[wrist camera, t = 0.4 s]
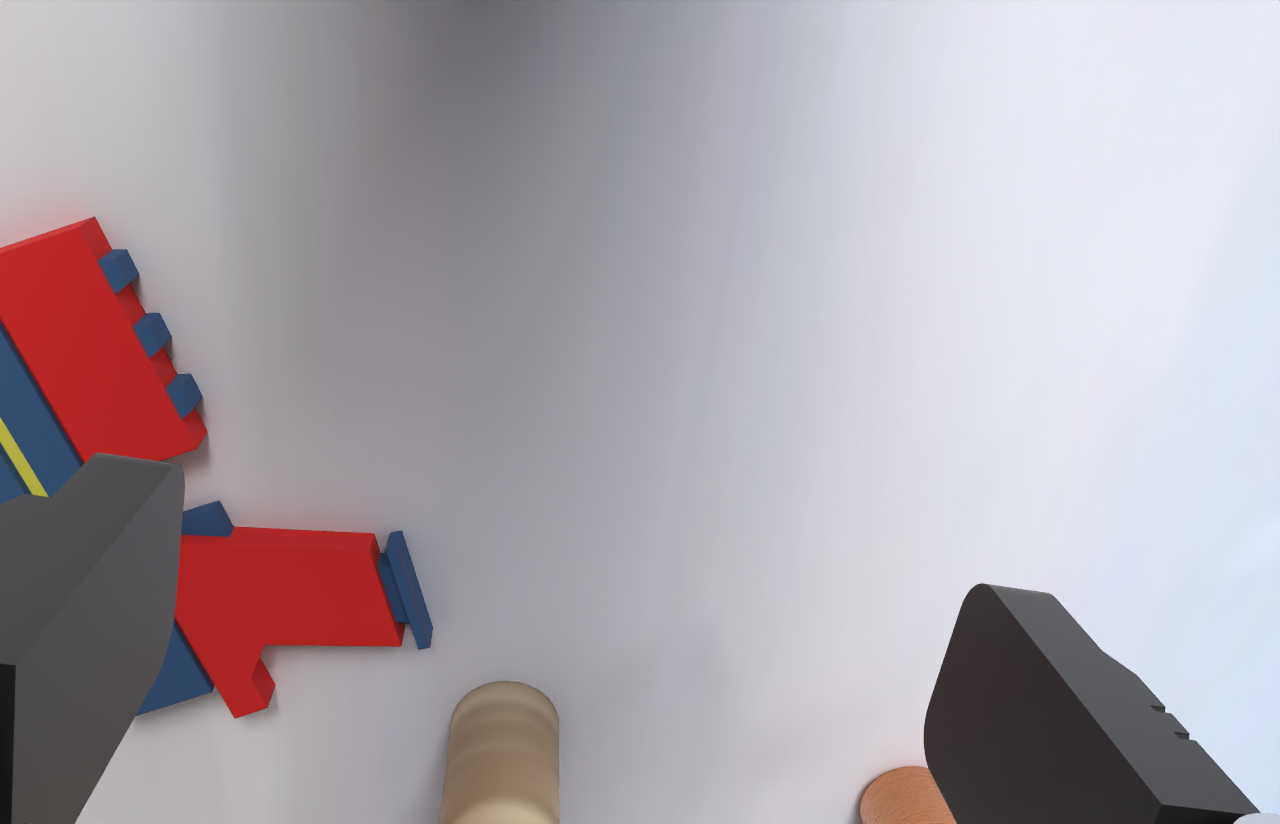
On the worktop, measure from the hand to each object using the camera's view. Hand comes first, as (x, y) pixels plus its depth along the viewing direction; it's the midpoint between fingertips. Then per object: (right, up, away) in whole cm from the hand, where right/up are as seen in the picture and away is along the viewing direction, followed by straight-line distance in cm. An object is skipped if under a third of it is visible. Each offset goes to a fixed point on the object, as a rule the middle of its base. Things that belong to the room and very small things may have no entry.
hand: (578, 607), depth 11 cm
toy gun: (-12, +1, +19) cm, 22 cm away
